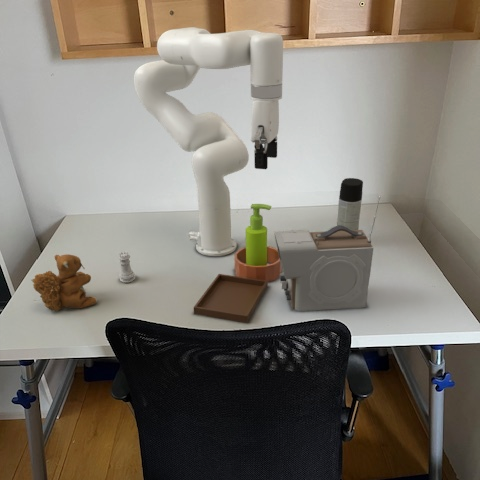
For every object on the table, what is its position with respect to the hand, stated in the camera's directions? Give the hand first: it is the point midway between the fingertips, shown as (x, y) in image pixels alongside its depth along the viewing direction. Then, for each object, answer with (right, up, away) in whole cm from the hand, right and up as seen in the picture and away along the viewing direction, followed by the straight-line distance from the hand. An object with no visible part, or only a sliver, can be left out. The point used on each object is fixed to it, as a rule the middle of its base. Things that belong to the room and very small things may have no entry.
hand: (266, 162), depth 138 cm
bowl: (-1, -26, +16) cm, 31 cm away
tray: (-9, -35, +3) cm, 36 cm away
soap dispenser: (-1, -27, +16) cm, 31 cm away
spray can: (+26, -17, +30) cm, 43 cm away
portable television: (+14, -35, +2) cm, 38 cm away
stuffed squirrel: (-52, -36, +3) cm, 64 cm away
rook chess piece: (-38, -29, +14) cm, 50 cm away
